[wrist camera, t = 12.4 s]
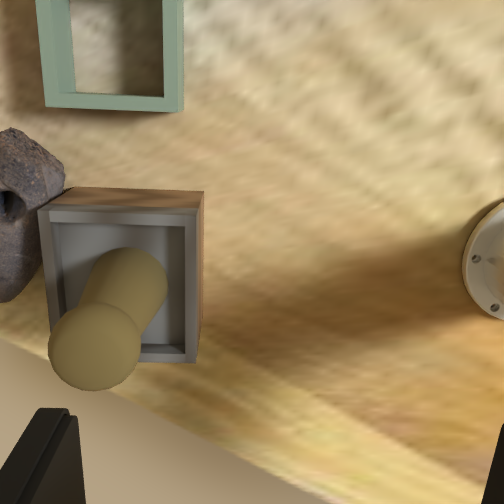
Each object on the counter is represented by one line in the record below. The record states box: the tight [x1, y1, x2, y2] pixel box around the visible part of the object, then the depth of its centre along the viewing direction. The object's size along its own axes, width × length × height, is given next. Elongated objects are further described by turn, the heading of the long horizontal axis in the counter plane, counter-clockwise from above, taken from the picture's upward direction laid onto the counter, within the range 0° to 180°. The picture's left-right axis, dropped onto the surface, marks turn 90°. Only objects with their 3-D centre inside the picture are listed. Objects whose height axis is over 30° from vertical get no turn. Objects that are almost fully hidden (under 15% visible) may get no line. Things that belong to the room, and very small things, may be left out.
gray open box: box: [37, 187, 204, 363], centre depth 39 cm, size 11×12×8 cm
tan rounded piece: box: [48, 247, 169, 391], centre depth 31 cm, size 6×6×11 cm
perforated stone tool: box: [0, 127, 65, 303], centre depth 38 cm, size 15×5×7 cm, turn 158°
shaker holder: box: [35, 0, 184, 112], centre depth 35 cm, size 10×10×4 cm
